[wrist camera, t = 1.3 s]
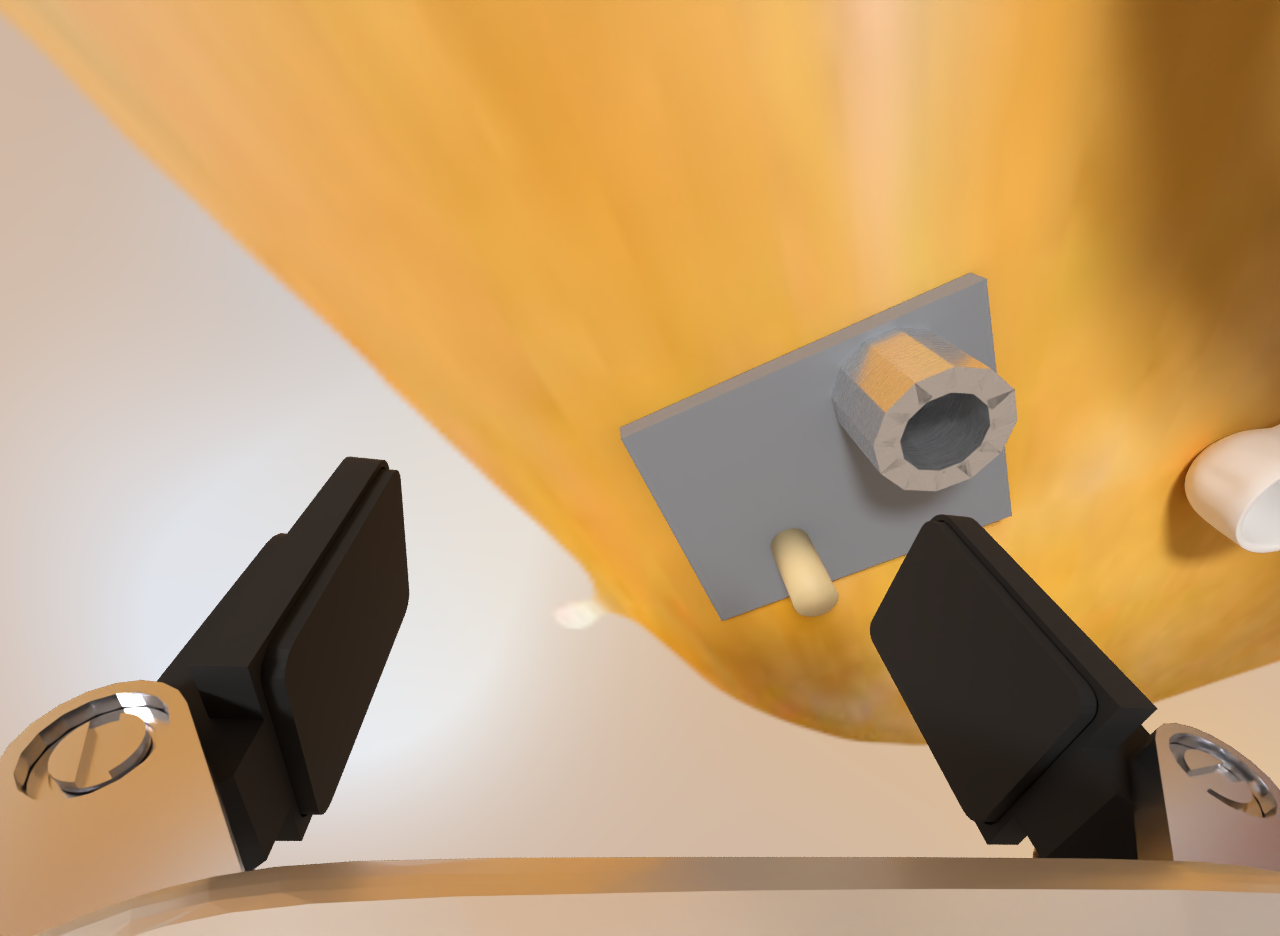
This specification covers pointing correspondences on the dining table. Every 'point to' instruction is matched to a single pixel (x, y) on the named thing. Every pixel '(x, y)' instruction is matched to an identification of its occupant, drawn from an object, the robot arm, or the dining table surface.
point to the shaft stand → (802, 468)
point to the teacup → (1240, 488)
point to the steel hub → (923, 408)
